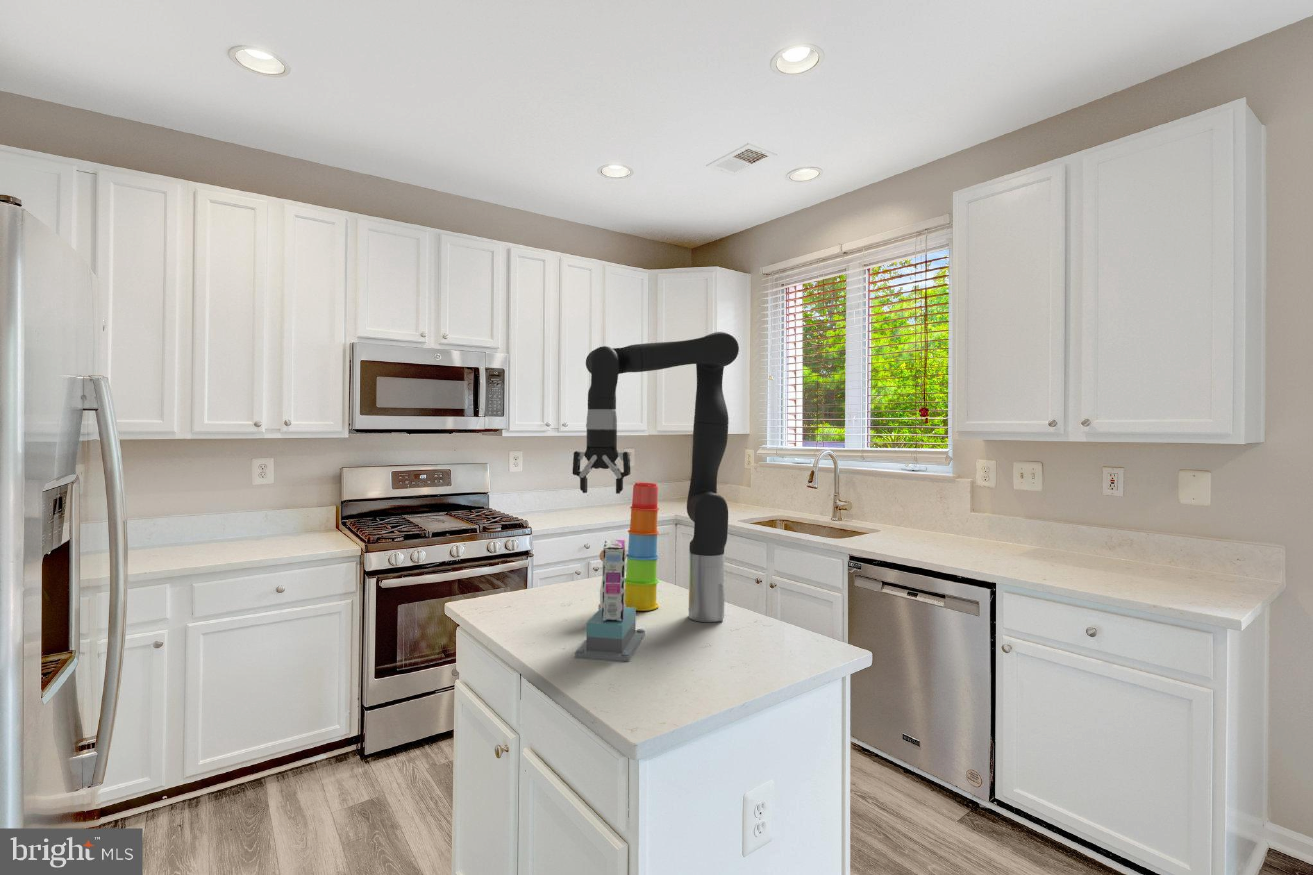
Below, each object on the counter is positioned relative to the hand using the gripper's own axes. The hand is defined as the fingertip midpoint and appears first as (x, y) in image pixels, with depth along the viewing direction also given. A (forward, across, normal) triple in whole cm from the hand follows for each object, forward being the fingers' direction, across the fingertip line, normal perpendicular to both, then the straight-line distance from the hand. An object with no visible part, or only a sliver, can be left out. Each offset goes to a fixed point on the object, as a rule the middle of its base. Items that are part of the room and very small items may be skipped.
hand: (601, 493), depth 156 cm
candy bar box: (+27, -6, +12) cm, 30 cm away
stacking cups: (+34, -6, -20) cm, 40 cm away
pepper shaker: (+34, -1, -8) cm, 35 cm away
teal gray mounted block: (+34, -6, +12) cm, 36 cm away
